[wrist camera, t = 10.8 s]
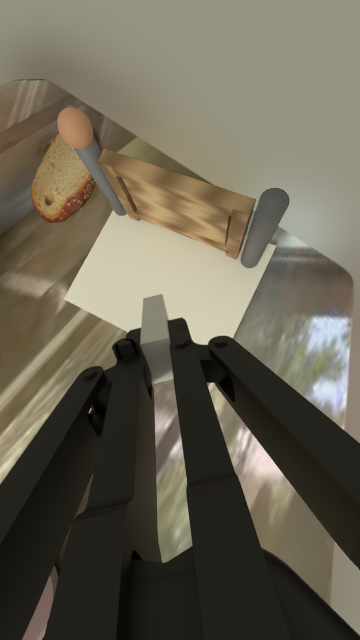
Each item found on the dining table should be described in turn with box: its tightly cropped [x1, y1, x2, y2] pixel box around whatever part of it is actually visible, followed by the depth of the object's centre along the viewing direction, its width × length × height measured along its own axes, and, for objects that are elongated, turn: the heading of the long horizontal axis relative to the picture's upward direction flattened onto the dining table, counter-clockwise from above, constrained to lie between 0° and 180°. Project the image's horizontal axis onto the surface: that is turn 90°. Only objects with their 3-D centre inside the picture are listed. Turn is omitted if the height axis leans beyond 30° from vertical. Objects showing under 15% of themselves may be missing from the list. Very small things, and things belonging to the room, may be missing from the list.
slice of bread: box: [31, 133, 99, 223], centre depth 46 cm, size 18×18×4 cm
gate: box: [98, 149, 256, 259], centre depth 34 cm, size 21×2×12 cm, turn 64°
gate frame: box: [57, 107, 289, 345], centre depth 32 cm, size 30×24×18 cm
